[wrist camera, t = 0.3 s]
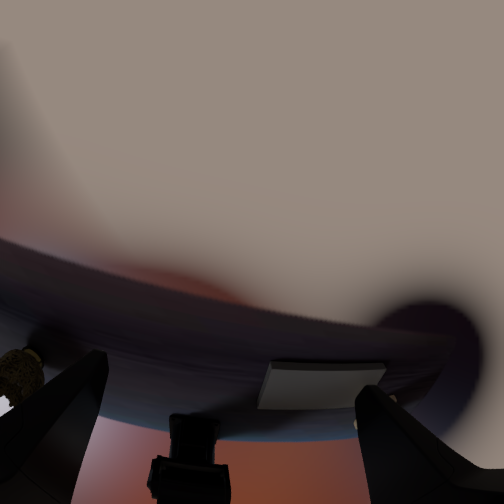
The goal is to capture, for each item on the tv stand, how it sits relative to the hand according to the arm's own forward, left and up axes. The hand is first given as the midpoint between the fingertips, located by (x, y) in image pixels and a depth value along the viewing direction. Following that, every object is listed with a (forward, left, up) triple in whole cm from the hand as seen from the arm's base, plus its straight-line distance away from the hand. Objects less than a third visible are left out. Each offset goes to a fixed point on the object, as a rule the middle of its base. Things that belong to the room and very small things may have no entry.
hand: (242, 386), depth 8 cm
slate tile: (-16, -13, -15) cm, 25 cm away
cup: (-20, +23, -15) cm, 34 cm away
